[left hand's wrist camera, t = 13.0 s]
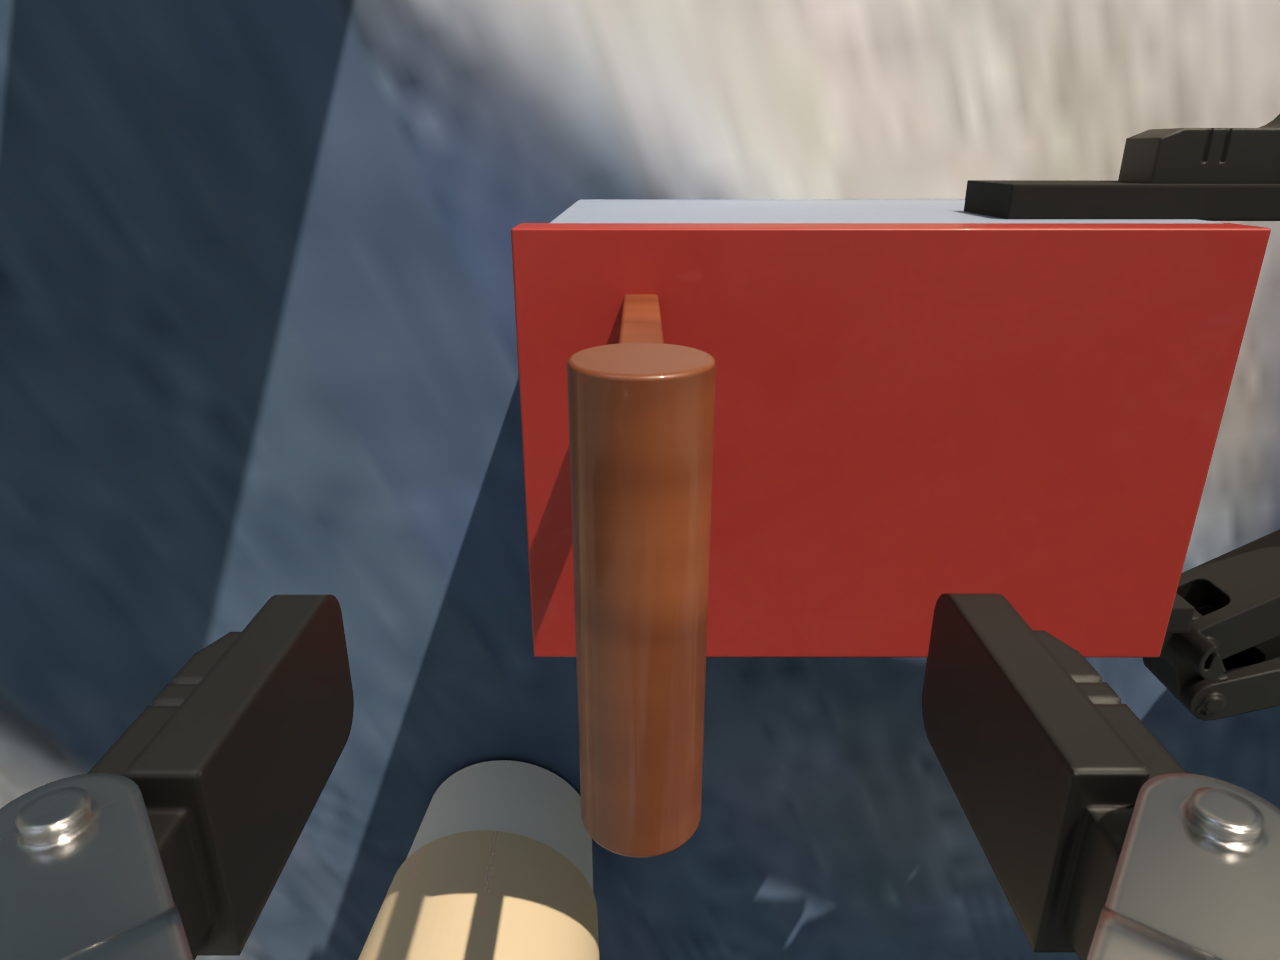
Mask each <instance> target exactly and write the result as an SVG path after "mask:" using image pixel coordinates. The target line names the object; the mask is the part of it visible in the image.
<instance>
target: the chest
mask: <svg viewBox="0 0 1280 960" xmlns="http://www.w3.org/2000/svg"><path fill="white" fill-rule="evenodd" d="M964 205H965V200H578V201H577V202H576V203H574V204H573V205H572V206H571V207H569V208H568V209H567V210H565V211H564V212H563V213H562V214H560V215H559V216H558V217H557V218H555V219H554V220H553V221H552V222H550V223H1221V222H1213V221H1205V220H1197V219H1002V218H997V217H992V216H986V215H981V214H975V213H970V212H965V211H964Z"/></svg>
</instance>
